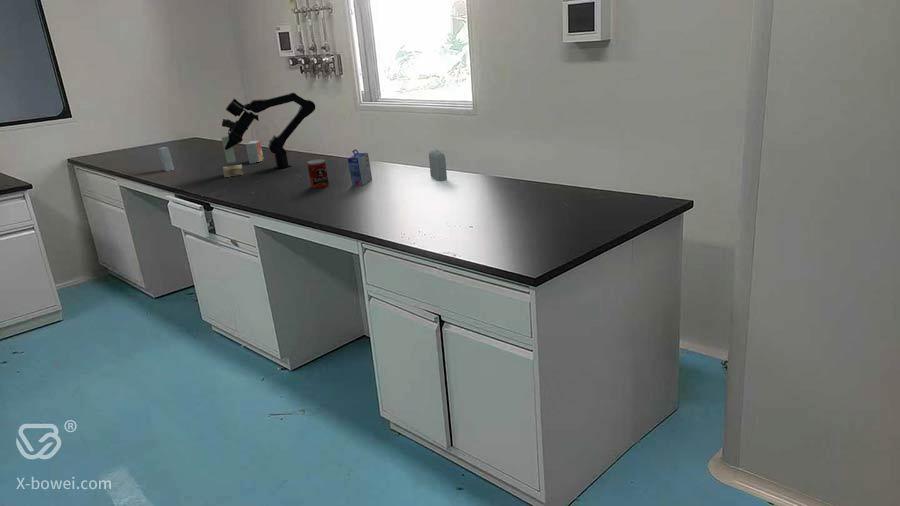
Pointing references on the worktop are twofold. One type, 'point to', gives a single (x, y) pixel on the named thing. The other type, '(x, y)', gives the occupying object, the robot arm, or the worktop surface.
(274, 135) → the robot arm
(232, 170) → the oak block
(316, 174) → the canned food
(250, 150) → the small box
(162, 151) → the skincare box
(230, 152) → the sage post
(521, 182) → the worktop surface
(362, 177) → the ink cartridge box
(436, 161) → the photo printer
